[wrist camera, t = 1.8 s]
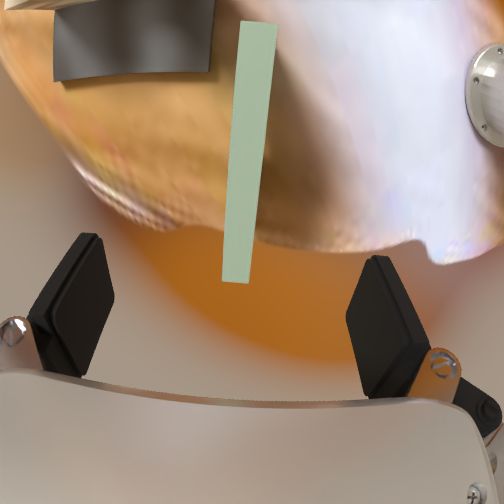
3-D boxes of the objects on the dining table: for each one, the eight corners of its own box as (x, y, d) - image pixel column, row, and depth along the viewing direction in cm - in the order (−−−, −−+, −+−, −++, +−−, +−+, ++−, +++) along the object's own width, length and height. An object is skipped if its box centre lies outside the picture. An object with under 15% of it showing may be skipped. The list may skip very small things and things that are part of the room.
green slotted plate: (246, 32, 23) (240, 20, 14) (269, 34, 24) (278, 24, 14) (231, 206, 34) (222, 281, 24) (250, 207, 34) (248, 283, 24)
